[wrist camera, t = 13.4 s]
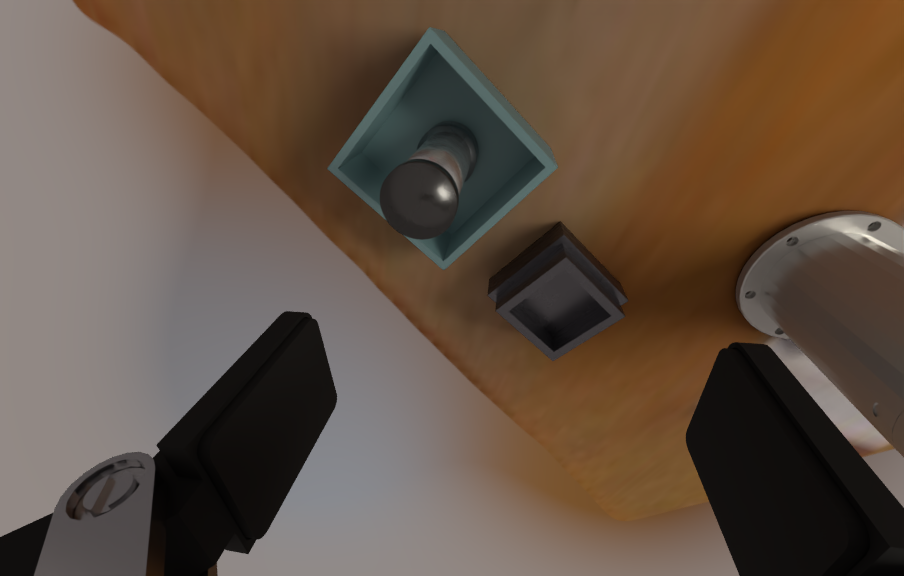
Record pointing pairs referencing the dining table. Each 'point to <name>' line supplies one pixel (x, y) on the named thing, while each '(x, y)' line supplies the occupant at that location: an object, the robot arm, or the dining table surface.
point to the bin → (428, 103)
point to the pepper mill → (430, 182)
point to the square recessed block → (557, 293)
